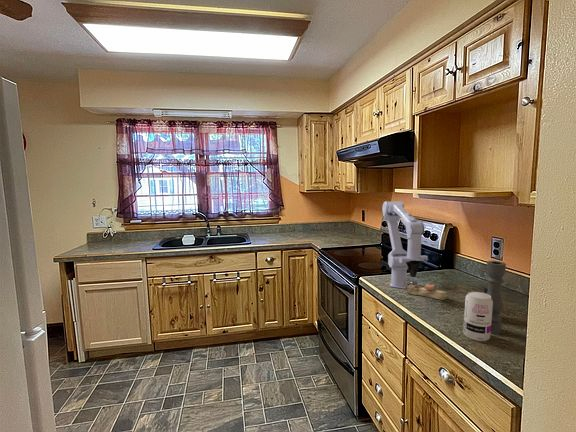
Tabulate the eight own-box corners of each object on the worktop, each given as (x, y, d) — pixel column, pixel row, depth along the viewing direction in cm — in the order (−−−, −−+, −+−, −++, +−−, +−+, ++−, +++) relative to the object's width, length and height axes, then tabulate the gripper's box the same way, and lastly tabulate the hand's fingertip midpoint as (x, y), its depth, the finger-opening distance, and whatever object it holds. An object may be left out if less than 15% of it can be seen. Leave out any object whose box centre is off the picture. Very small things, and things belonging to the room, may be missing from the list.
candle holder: (478, 329, 118) (483, 262, 115) (485, 324, 122) (490, 259, 119) (497, 335, 114) (502, 266, 110) (504, 330, 117) (509, 263, 114)
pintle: (409, 291, 157) (410, 280, 156) (417, 292, 155) (417, 281, 155) (408, 293, 154) (409, 282, 153) (416, 294, 152) (416, 283, 152)
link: (406, 292, 154) (406, 286, 154) (409, 290, 158) (409, 284, 157) (443, 300, 144) (444, 294, 144) (446, 297, 148) (446, 291, 147)
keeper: (423, 297, 150) (424, 286, 149) (427, 293, 154) (427, 283, 154) (430, 298, 148) (431, 287, 147) (434, 294, 152) (434, 284, 152)
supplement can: (478, 329, 118) (480, 290, 116) (495, 341, 110) (499, 298, 108) (457, 331, 117) (460, 291, 115) (474, 343, 108) (477, 300, 107)
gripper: (406, 250, 142) (405, 280, 144) (433, 248, 147) (431, 277, 148) (396, 247, 149) (395, 276, 150) (422, 245, 153) (420, 273, 155)
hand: (412, 276), depth 150 cm, fingers closed
